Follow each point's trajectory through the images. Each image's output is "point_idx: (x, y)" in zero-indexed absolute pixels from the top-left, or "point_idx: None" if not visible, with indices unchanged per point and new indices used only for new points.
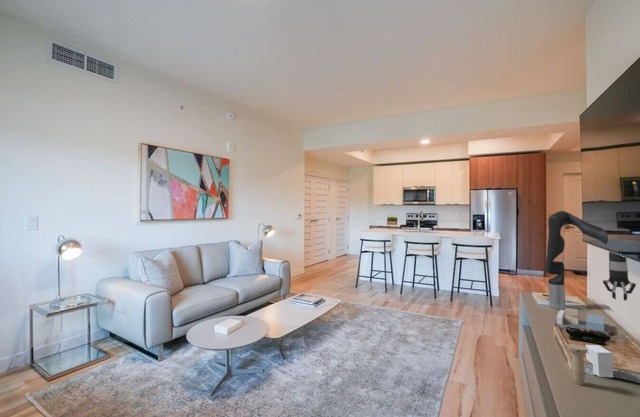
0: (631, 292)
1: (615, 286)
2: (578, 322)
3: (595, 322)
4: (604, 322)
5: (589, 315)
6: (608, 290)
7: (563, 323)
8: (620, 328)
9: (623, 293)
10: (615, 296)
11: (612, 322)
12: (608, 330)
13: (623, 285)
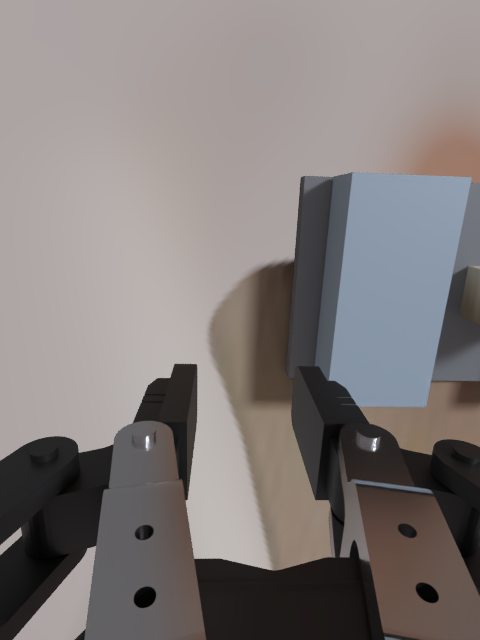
0: (14, 456)
1: (392, 547)
2: (466, 296)
3: (407, 185)
4: (318, 363)
5: (419, 371)
6: (469, 451)
7: None
8: (231, 385)
9: (186, 476)
10: (309, 387)
11: (263, 477)
12: (303, 241)
13: (127, 637)
